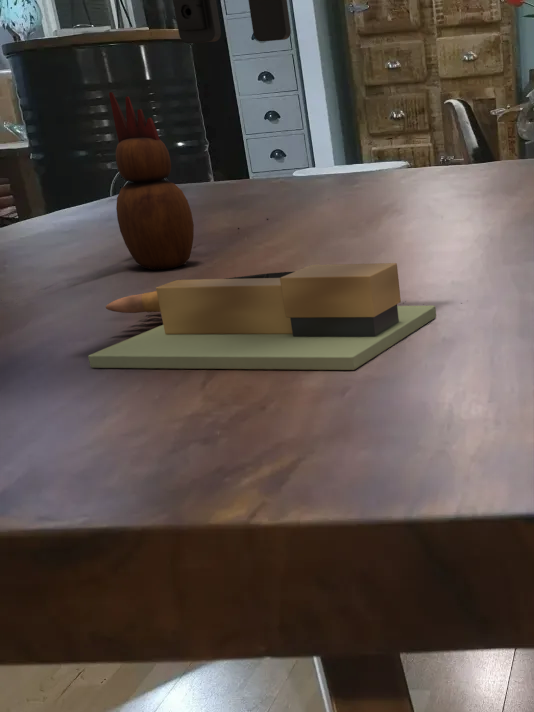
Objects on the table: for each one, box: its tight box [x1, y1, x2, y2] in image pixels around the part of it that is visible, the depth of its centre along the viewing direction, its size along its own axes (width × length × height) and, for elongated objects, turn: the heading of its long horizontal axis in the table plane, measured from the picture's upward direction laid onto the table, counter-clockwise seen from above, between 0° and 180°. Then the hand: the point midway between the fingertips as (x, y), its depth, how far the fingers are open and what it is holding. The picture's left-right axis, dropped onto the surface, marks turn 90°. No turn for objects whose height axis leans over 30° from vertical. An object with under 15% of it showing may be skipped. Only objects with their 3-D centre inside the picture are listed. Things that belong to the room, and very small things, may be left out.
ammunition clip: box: [105, 270, 296, 314], centre depth 79 cm, size 11×2×12 cm
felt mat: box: [87, 305, 437, 371], centre depth 71 cm, size 18×14×1 cm
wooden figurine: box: [108, 91, 195, 271], centre depth 101 cm, size 7×6×15 cm
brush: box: [155, 262, 402, 337], centre depth 70 cm, size 16×4×4 cm, turn 72°
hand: (239, 41), depth 64 cm, fingers open, 8 cm apart
